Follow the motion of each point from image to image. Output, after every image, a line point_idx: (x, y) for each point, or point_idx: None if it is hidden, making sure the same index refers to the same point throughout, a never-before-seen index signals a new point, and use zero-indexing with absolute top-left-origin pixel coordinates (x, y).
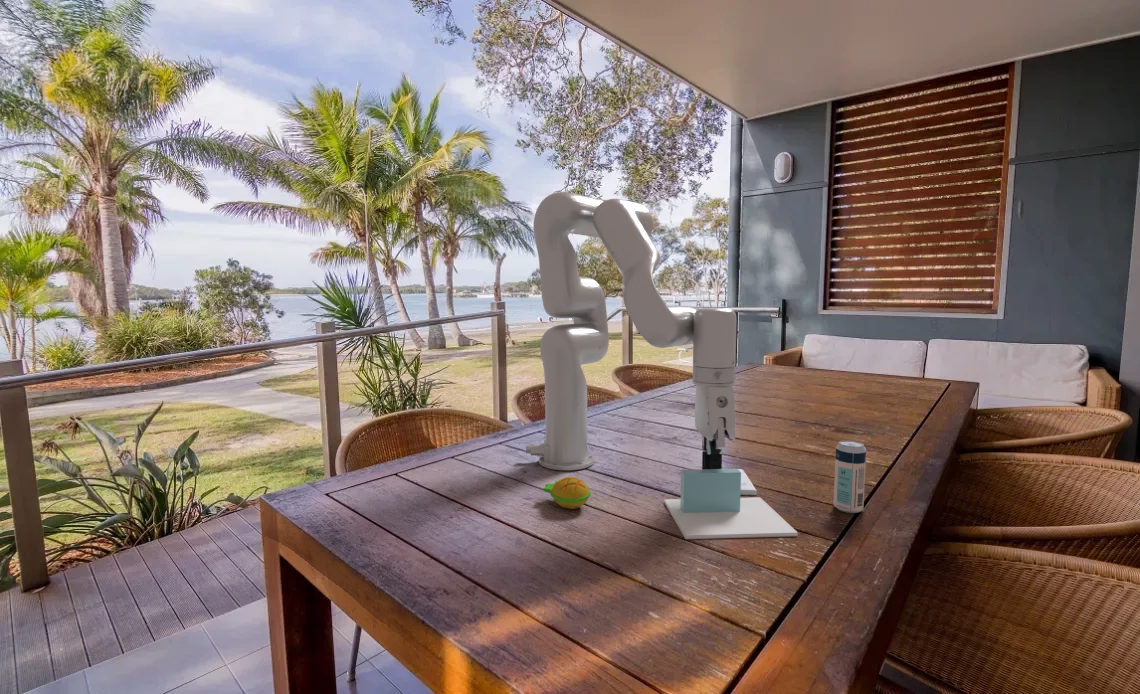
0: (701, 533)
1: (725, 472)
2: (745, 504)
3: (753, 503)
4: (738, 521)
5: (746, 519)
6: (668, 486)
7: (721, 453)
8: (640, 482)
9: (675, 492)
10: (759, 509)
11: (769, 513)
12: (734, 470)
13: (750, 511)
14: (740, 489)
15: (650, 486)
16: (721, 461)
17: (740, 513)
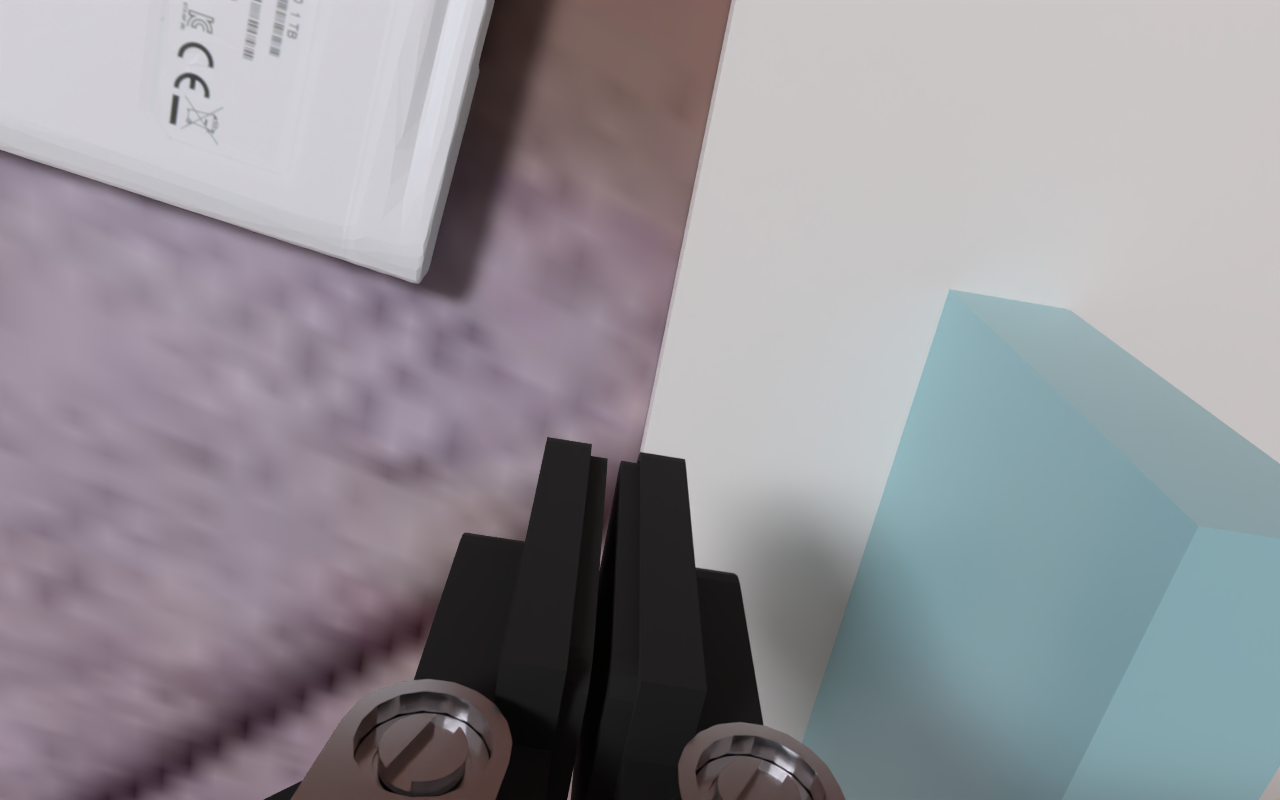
0: (1278, 789)
1: (1259, 775)
2: (928, 141)
3: (941, 22)
4: (1259, 447)
5: (1263, 352)
6: (173, 609)
7: (813, 772)
8: (57, 783)
9: (346, 610)
10: (1123, 58)
11: (1270, 4)
12: (1261, 612)
13: (1124, 201)
14: (1211, 415)
15: (168, 744)
16: (691, 575)
17: (1115, 332)
